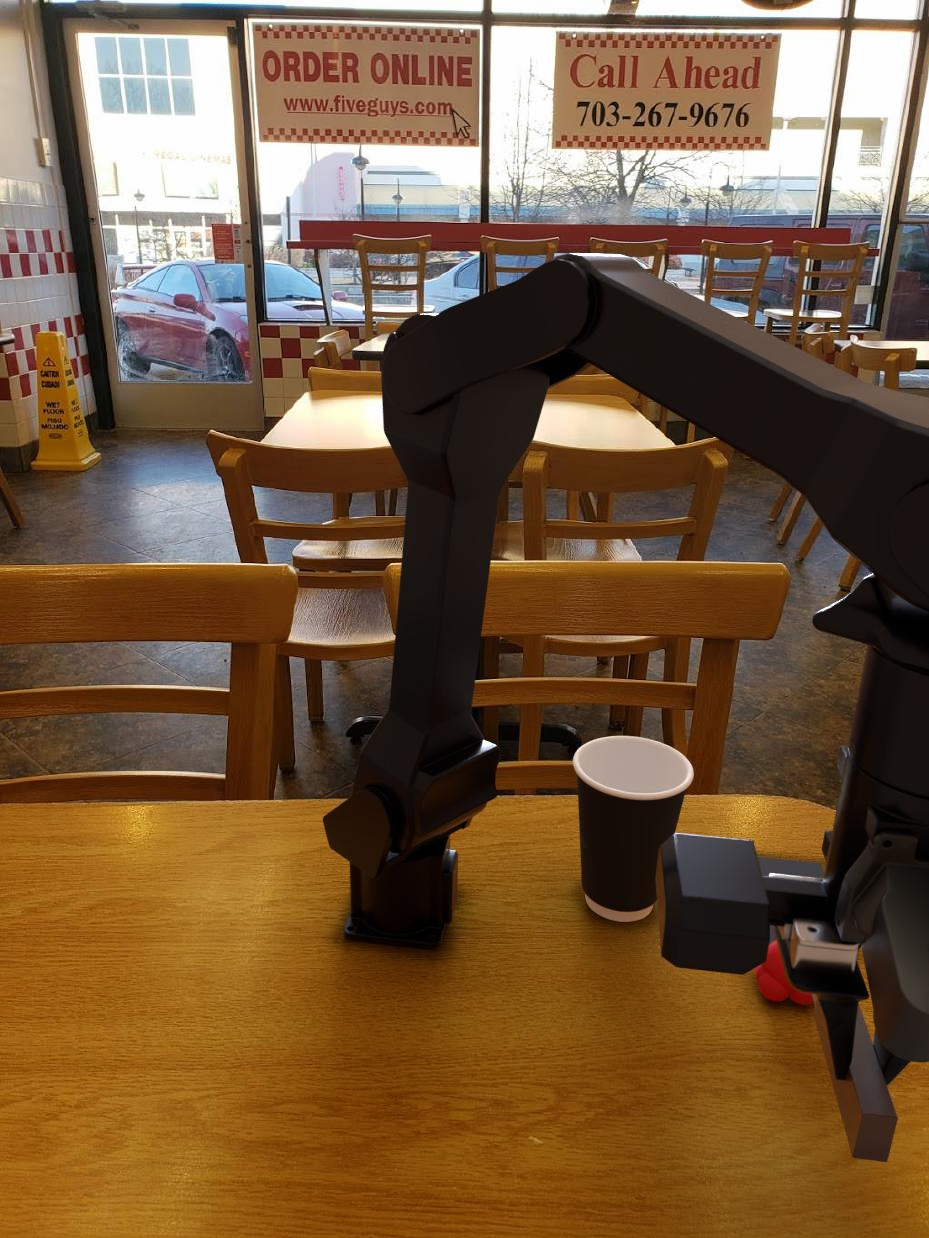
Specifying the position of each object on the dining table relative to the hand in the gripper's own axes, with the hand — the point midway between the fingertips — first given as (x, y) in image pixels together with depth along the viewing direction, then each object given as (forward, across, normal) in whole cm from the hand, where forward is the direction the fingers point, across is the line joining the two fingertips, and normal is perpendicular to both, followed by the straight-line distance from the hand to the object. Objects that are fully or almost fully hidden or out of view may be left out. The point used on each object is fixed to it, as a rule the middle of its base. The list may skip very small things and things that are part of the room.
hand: (857, 1075), depth 41 cm
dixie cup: (+9, -9, +22) cm, 26 cm away
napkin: (+9, +1, +24) cm, 26 cm away
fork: (+2, 0, +4) cm, 4 cm away
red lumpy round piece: (+9, +1, +15) cm, 18 cm away
